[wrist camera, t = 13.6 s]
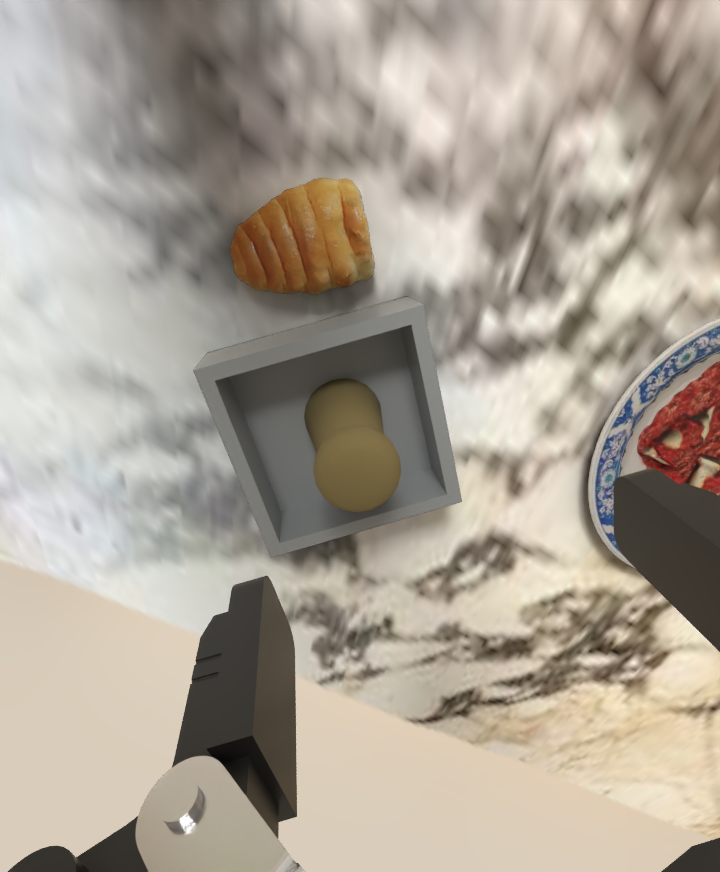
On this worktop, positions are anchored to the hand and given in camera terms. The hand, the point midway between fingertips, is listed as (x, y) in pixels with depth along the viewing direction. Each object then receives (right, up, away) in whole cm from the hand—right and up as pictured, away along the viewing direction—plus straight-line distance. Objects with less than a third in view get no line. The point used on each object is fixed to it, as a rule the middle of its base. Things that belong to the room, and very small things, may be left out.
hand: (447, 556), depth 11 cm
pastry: (-5, +16, +22) cm, 28 cm away
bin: (-4, +4, +26) cm, 27 cm away
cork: (-3, +4, +26) cm, 27 cm away
